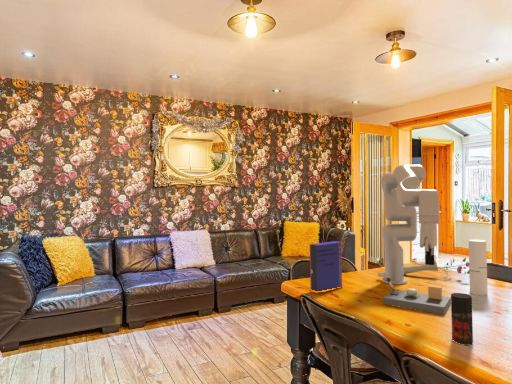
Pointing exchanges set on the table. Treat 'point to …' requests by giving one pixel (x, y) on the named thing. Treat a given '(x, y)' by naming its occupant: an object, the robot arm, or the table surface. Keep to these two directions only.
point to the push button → (411, 291)
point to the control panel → (417, 301)
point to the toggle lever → (390, 283)
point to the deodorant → (461, 318)
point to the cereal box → (325, 265)
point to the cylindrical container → (478, 267)
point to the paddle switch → (435, 292)
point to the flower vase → (432, 267)
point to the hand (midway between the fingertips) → (429, 264)
